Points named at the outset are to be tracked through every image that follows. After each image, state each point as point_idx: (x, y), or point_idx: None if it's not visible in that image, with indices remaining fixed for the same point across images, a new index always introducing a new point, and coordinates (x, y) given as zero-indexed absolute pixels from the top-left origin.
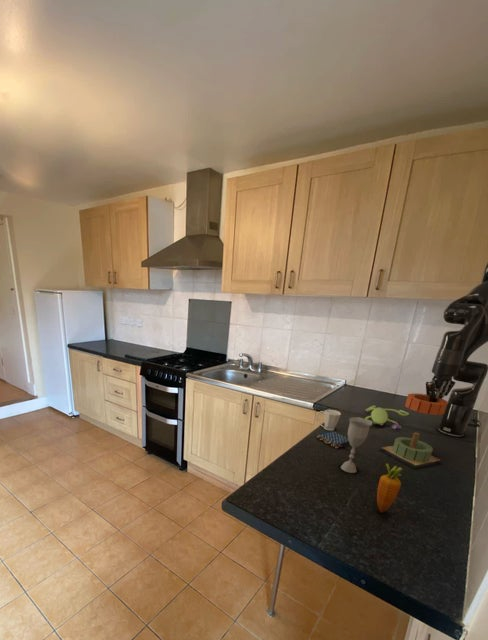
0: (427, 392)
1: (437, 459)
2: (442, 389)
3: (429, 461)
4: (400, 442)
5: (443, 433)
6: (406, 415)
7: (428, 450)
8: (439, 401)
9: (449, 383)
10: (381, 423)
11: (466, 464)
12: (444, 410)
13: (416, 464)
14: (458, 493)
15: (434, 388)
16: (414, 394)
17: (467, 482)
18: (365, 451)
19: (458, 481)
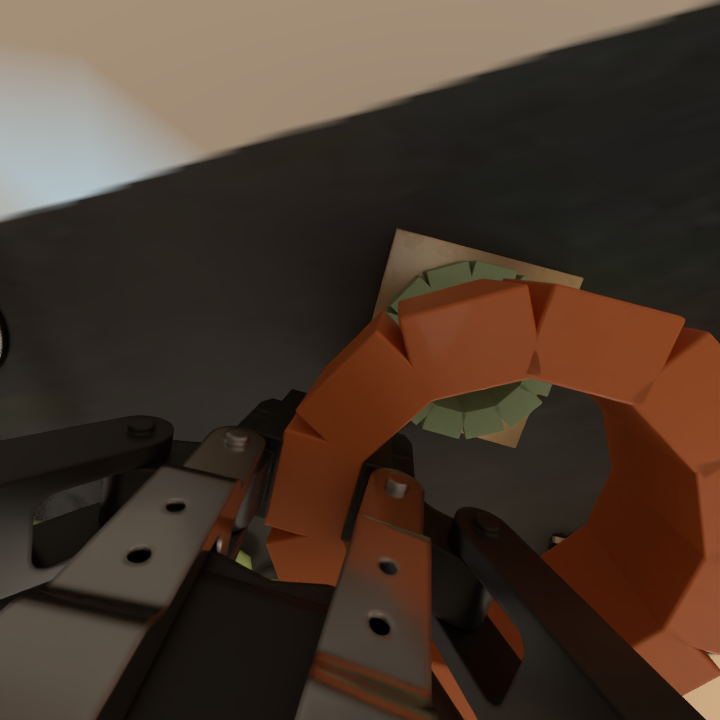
0: (511, 651)
1: (408, 241)
2: (347, 556)
3: (472, 255)
4: (509, 403)
5: (7, 345)
6: (35, 521)
7: (486, 274)
8: (415, 409)
9: (22, 643)
10: (241, 553)
11: (283, 150)
12: (522, 280)
13: (570, 279)
14: (673, 58)
15: (630, 705)
16: (452, 693)
17: (501, 74)
18: (577, 475)
19: (529, 105)
